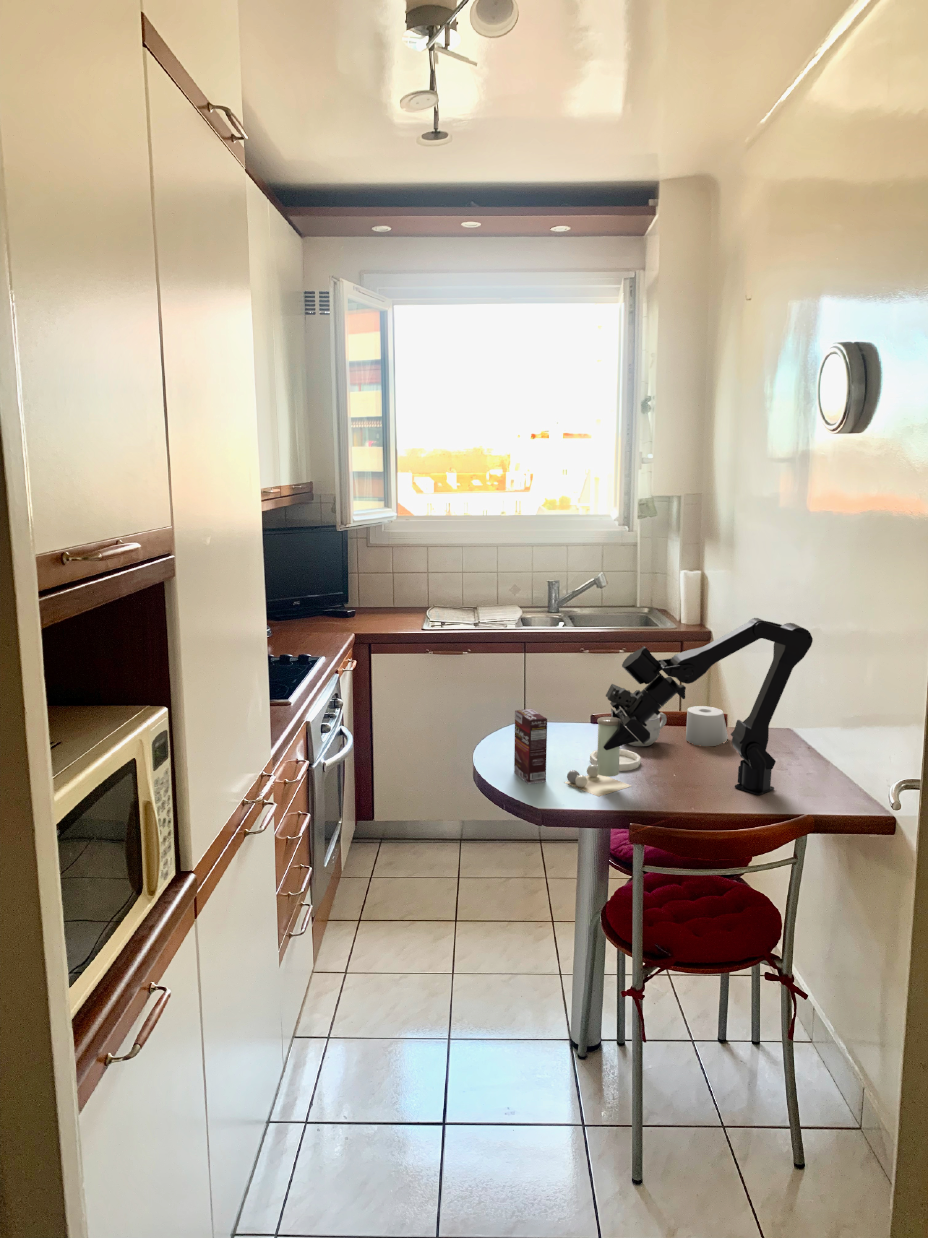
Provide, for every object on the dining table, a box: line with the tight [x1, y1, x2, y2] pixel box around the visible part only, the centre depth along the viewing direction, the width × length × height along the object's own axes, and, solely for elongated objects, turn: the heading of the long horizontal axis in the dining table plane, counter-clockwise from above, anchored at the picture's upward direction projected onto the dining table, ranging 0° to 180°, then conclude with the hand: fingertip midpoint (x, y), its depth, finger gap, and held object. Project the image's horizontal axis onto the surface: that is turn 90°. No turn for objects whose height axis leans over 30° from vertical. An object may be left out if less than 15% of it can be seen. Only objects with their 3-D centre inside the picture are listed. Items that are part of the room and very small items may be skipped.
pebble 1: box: [566, 769, 581, 783], centre depth 204 cm, size 3×3×3 cm
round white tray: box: [589, 748, 642, 772], centre depth 218 cm, size 12×12×2 cm
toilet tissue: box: [685, 705, 729, 747], centre depth 237 cm, size 9×13×9 cm
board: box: [563, 774, 632, 798], centre depth 203 cm, size 11×11×1 cm
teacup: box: [628, 712, 667, 747], centre depth 235 cm, size 14×11×8 cm
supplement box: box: [513, 708, 548, 785], centre depth 206 cm, size 9×5×16 cm, turn 21°
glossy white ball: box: [586, 764, 599, 777], centre depth 208 cm, size 3×3×3 cm
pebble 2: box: [575, 774, 587, 788], centre depth 201 cm, size 3×3×3 cm
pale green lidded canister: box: [596, 716, 622, 778], centre depth 200 cm, size 5×5×12 cm
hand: (602, 745), depth 200 cm, fingers closed on pale green lidded canister, 5 cm apart
